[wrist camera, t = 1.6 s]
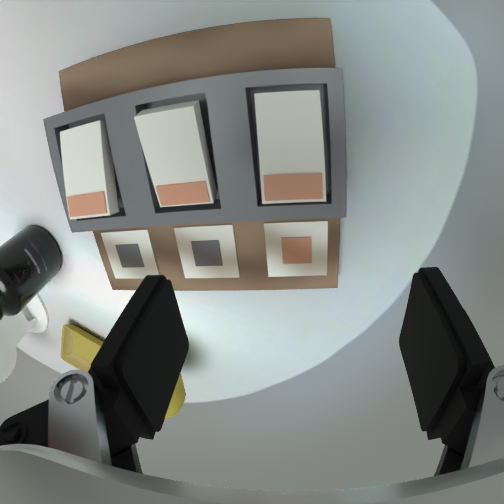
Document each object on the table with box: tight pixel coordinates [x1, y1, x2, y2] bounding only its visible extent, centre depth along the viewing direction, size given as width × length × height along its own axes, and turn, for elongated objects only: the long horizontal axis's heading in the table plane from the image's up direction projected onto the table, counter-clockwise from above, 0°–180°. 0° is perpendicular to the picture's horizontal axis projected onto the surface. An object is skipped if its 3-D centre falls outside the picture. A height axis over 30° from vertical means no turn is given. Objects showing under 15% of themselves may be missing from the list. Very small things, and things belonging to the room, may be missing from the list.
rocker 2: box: [134, 100, 217, 207], centre depth 21 cm, size 7×4×2 cm, turn 6°
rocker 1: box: [60, 120, 119, 220], centre depth 22 cm, size 7×4×2 cm, turn 6°
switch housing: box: [43, 68, 346, 232], centre depth 22 cm, size 10×22×3 cm, turn 96°
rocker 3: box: [254, 90, 326, 204], centre depth 20 cm, size 7×4×2 cm, turn 6°
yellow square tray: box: [61, 325, 104, 372], centre depth 39 cm, size 9×9×2 cm
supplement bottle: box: [0, 226, 61, 320], centre depth 27 cm, size 7×7×12 cm
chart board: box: [59, 18, 340, 291], centre depth 25 cm, size 22×22×2 cm
